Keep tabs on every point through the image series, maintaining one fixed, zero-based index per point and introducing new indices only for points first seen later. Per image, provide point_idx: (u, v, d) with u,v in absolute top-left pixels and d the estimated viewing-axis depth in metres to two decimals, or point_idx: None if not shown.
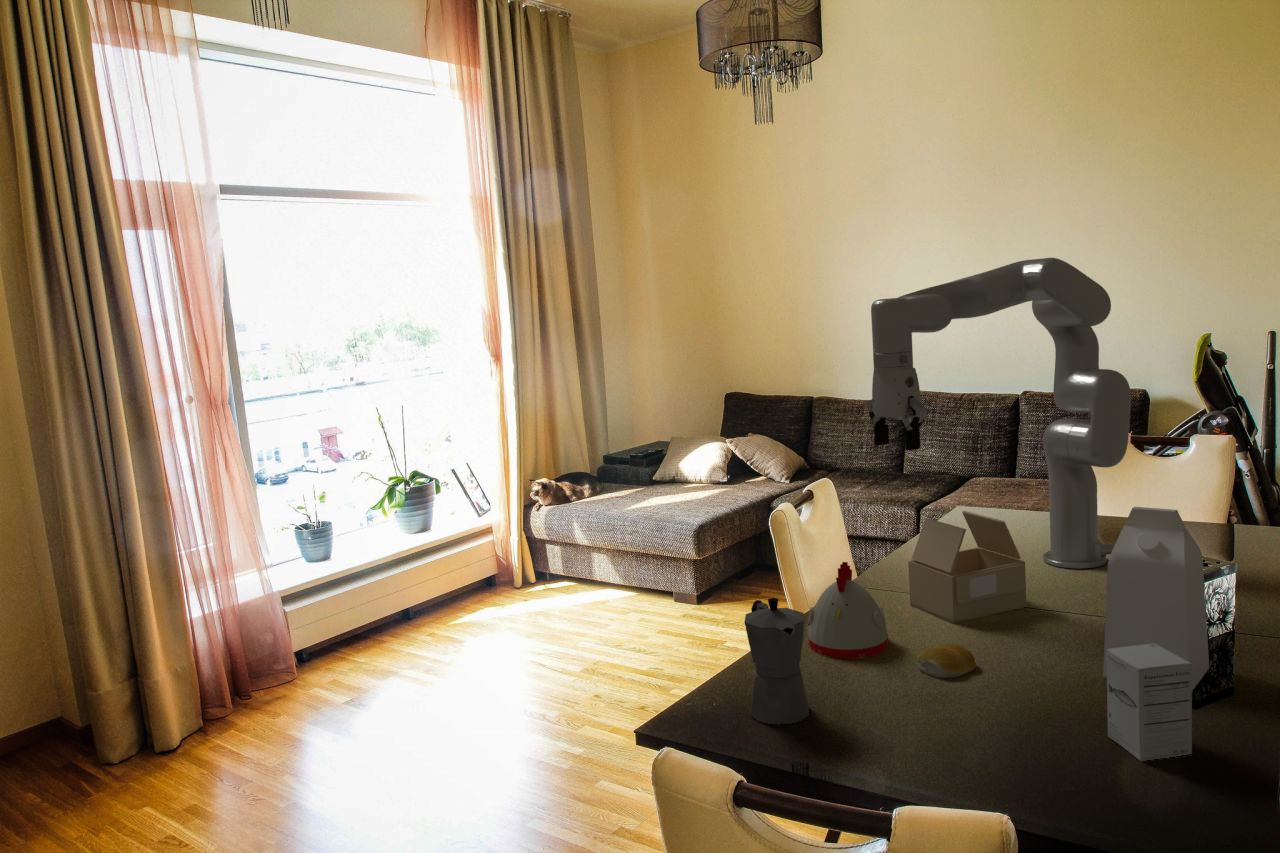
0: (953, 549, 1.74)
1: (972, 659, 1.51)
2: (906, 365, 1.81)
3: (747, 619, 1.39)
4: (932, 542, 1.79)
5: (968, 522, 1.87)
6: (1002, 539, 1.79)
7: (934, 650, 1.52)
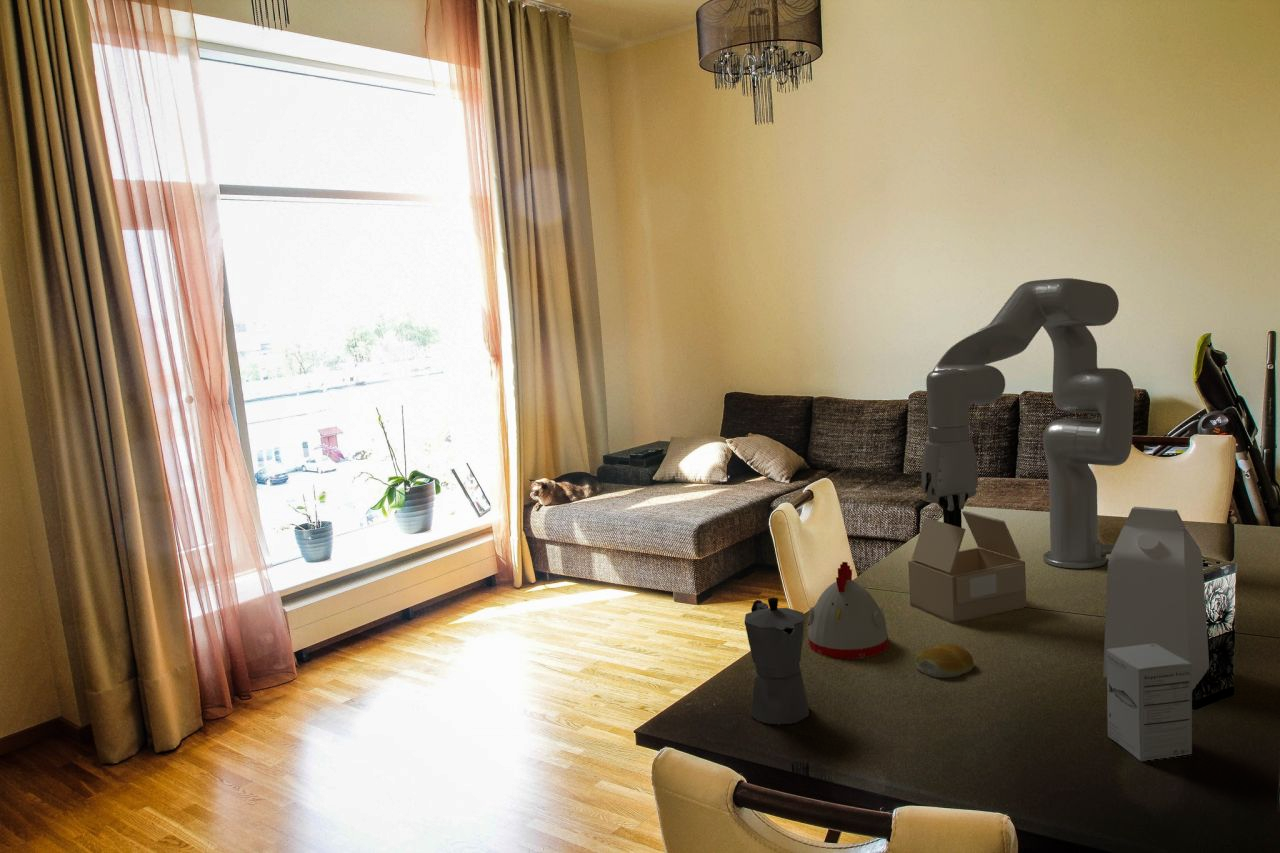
0: (953, 549, 1.74)
1: (970, 659, 1.51)
2: None
3: (747, 619, 1.39)
4: (931, 542, 1.79)
5: (968, 522, 1.87)
6: (1002, 539, 1.79)
7: (932, 650, 1.52)
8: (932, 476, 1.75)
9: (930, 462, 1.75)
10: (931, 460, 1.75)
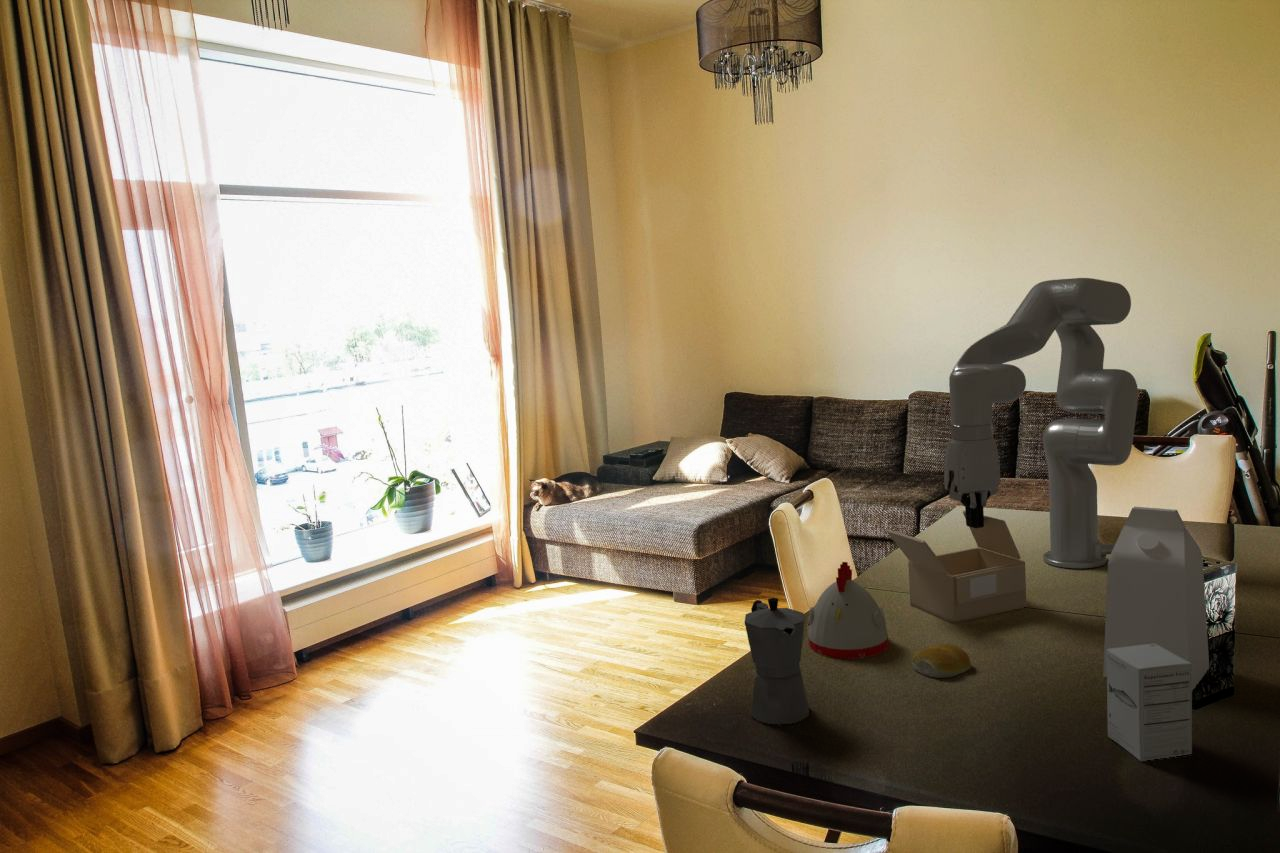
0: (931, 557, 1.72)
1: (967, 659, 1.51)
2: None
3: (747, 619, 1.39)
4: (910, 550, 1.78)
5: None
6: (1002, 539, 1.79)
7: (929, 650, 1.52)
8: (955, 474, 1.77)
9: (953, 460, 1.77)
10: (954, 458, 1.77)
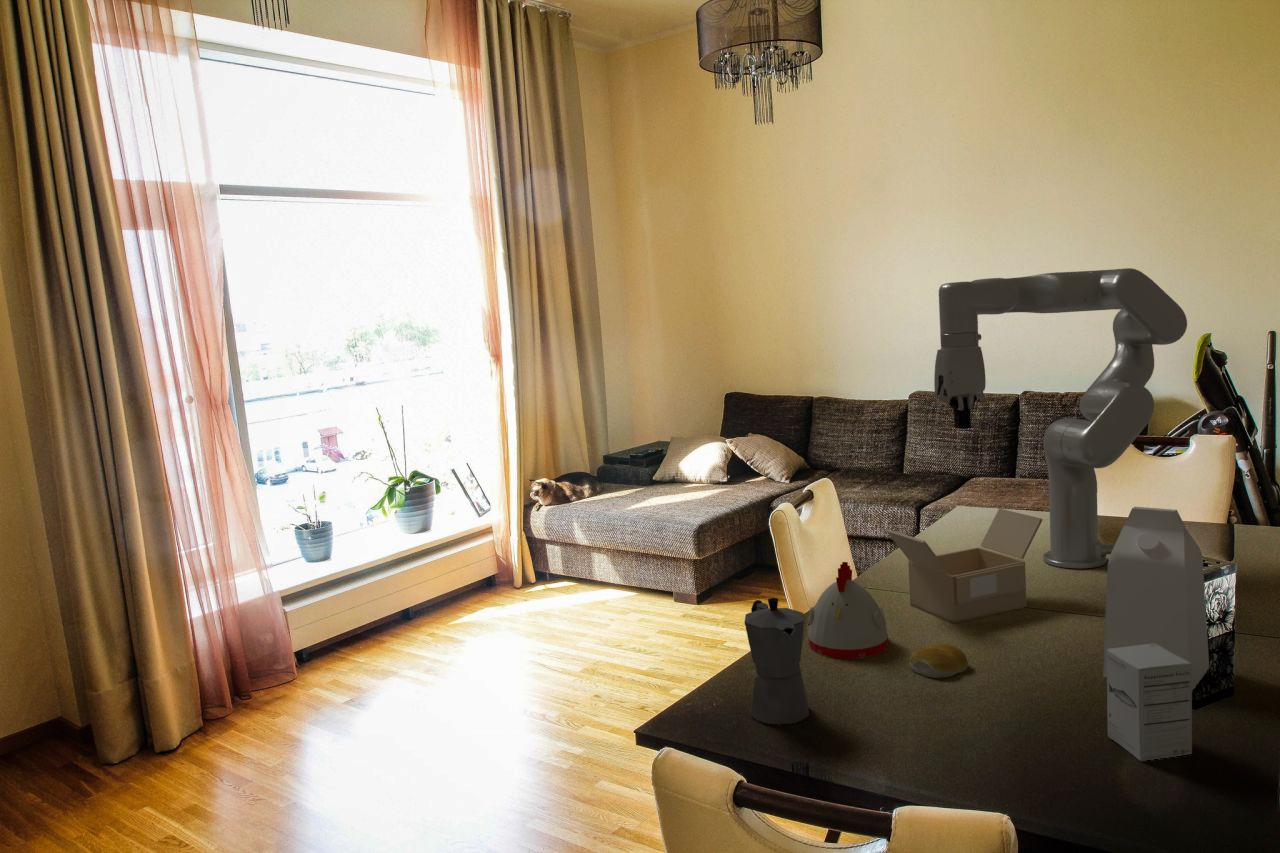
0: (931, 557, 1.72)
1: (964, 659, 1.51)
2: None
3: (747, 619, 1.39)
4: (910, 550, 1.78)
5: (995, 519, 1.89)
6: (1021, 536, 1.81)
7: (926, 650, 1.52)
8: (944, 378, 1.93)
9: (942, 365, 1.94)
10: (943, 363, 1.93)
